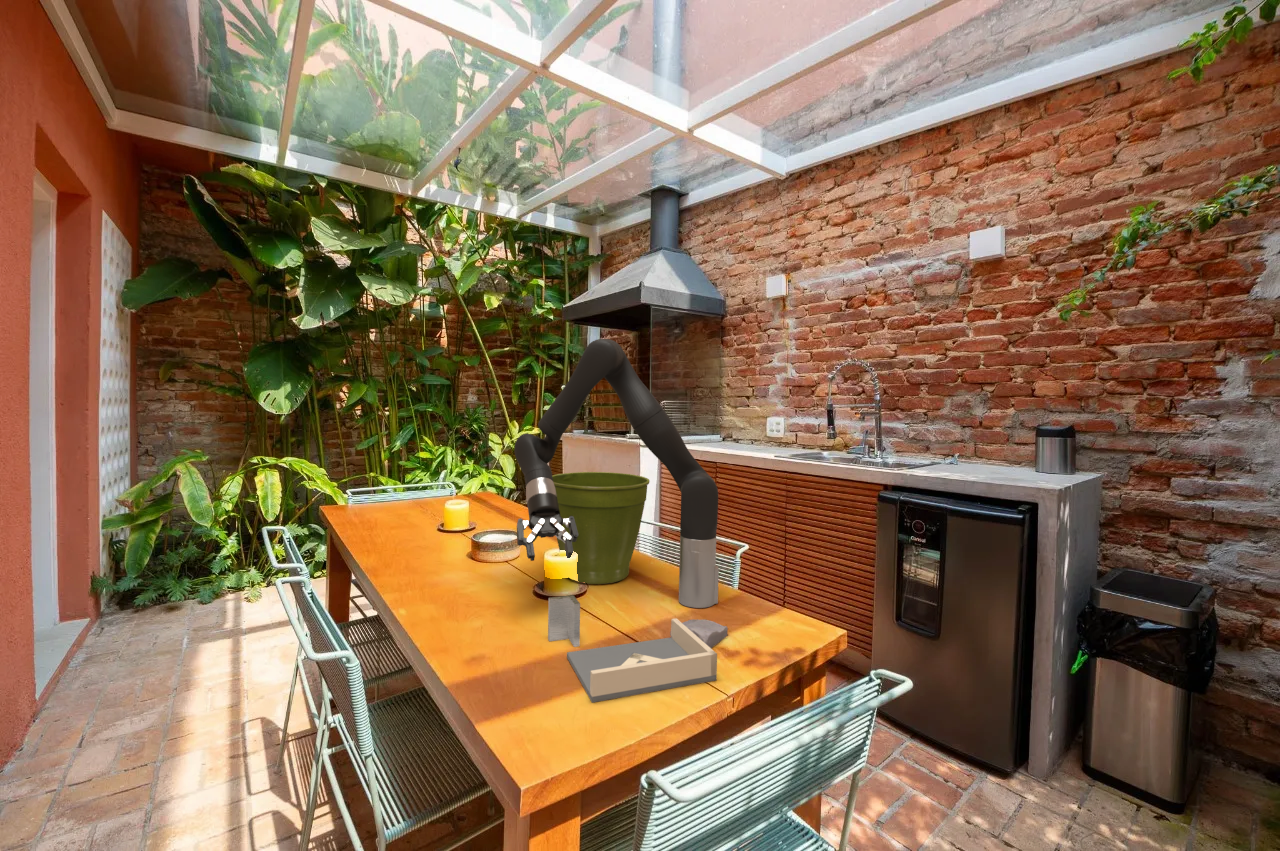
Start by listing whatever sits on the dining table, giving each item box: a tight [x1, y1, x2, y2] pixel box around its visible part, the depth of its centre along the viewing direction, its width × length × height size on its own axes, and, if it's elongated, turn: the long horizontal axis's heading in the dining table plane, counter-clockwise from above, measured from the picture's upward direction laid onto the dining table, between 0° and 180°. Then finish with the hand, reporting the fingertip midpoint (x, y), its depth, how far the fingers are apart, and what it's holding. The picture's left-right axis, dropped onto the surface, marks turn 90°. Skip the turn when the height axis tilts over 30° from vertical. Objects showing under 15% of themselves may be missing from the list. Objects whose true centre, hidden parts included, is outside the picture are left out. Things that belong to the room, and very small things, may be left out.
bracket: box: [547, 594, 581, 648], centre depth 120 cm, size 6×6×9 cm
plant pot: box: [552, 471, 651, 585], centre depth 166 cm, size 30×30×29 cm
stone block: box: [669, 618, 729, 649], centre depth 124 cm, size 12×5×10 cm
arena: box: [566, 618, 718, 703], centre depth 110 cm, size 24×18×5 cm
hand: (551, 557), depth 132 cm, fingers open, 8 cm apart
